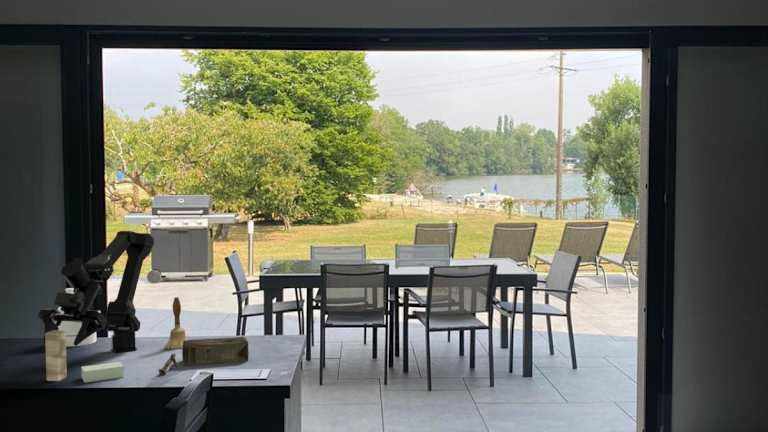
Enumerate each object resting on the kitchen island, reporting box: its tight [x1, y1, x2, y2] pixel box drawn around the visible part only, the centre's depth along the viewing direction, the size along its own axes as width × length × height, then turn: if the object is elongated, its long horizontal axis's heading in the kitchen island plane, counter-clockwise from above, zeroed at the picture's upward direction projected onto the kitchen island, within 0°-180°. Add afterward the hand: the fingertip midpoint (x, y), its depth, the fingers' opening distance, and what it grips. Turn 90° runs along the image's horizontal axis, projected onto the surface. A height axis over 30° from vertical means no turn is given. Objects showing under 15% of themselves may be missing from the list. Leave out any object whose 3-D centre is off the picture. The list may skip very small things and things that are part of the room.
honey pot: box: [57, 287, 98, 348], centre depth 234 cm, size 13×13×18 cm
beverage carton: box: [181, 335, 250, 367], centre depth 209 cm, size 8×19×7 cm, turn 108°
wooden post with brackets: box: [158, 352, 178, 376], centre depth 198 cm, size 2×8×4 cm, turn 167°
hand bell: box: [164, 296, 188, 350], centre depth 227 cm, size 8×8×16 cm
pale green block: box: [80, 361, 125, 383], centre depth 192 cm, size 10×6×3 cm, turn 120°
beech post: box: [44, 330, 68, 382], centre depth 190 cm, size 4×4×13 cm
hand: (59, 344), depth 192 cm, fingers open, 9 cm apart
